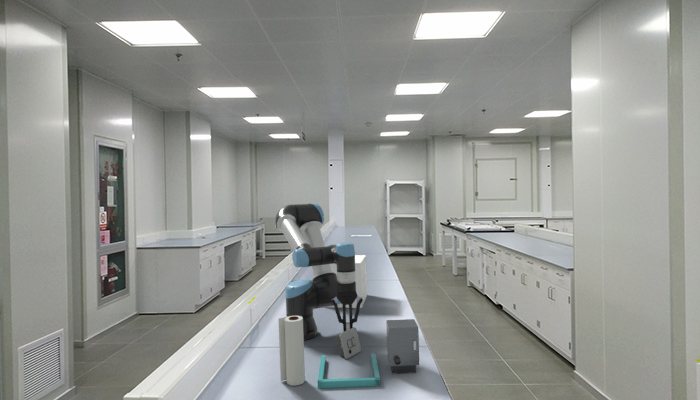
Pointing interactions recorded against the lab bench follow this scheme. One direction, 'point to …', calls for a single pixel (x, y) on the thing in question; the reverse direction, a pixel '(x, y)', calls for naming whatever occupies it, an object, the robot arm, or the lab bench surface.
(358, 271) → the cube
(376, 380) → the teal bay
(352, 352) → the electrical switch
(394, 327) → the control unit
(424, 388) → the lab bench surface
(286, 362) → the paper towel roll
